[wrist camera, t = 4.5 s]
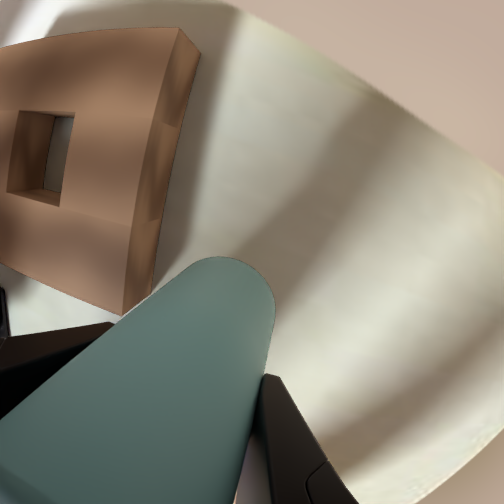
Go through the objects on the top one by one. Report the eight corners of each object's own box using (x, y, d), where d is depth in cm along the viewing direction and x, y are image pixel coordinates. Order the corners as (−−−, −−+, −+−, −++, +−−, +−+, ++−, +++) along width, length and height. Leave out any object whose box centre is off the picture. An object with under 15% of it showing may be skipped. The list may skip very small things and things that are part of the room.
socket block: (150, 293, 21) (121, 316, 17) (2, 237, 22) (-30, 246, 18) (201, 53, 17) (179, 27, 13) (32, 58, 19) (0, 47, 15)
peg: (260, 366, 12) (193, 614, 3) (166, 337, 13) (9, 526, 3) (287, 273, 11) (232, 570, 2) (181, 244, 12) (-69, 394, 2)
